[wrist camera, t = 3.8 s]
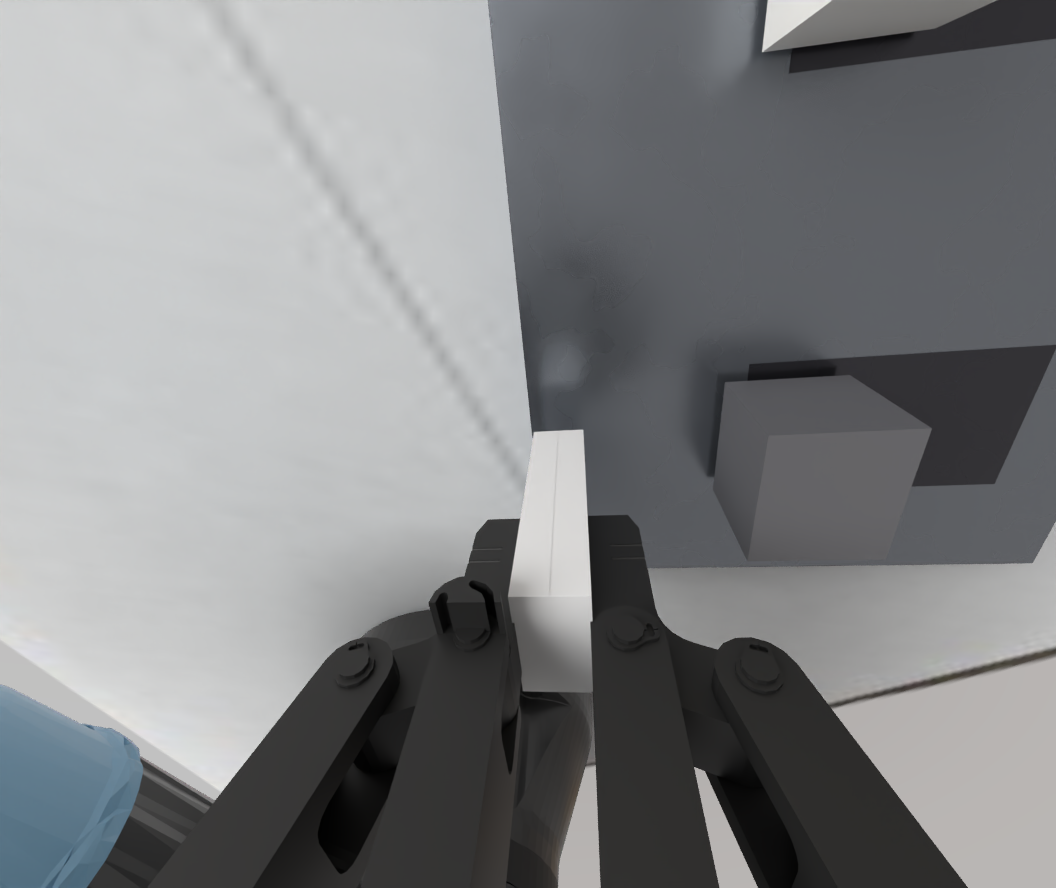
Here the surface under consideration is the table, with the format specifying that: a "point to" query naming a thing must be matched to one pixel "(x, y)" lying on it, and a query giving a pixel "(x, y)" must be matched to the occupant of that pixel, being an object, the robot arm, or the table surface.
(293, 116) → the table surface
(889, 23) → the block
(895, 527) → the block
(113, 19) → the table surface
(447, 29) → the table surface
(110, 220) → the table surface
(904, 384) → the breaker panel
